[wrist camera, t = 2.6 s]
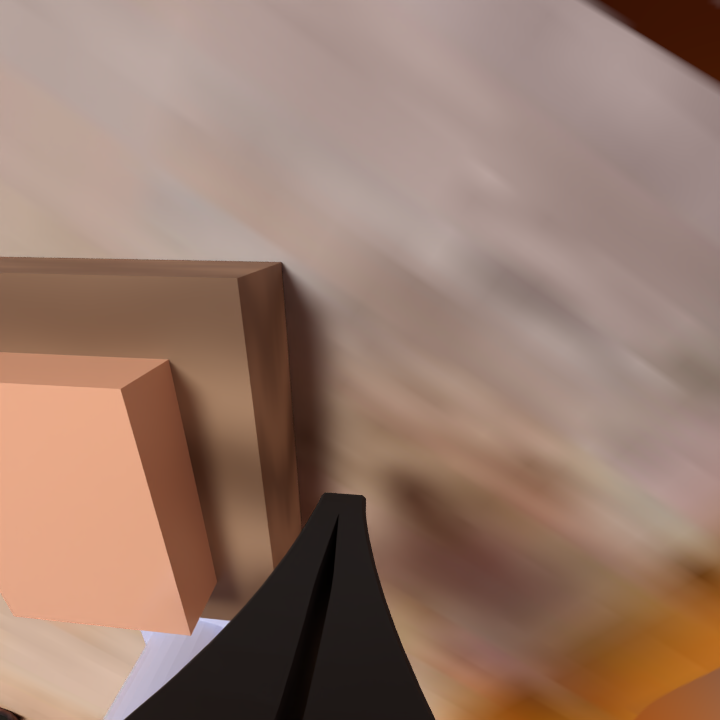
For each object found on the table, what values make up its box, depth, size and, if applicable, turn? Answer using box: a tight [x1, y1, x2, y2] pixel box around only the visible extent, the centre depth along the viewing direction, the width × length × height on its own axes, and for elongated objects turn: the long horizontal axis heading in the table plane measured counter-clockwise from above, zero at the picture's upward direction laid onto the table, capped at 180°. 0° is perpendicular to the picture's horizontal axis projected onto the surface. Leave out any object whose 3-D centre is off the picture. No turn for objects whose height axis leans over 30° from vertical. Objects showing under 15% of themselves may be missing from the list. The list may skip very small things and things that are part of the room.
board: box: [0, 257, 302, 621], centre depth 14 cm, size 15×13×4 cm
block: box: [0, 352, 217, 636], centre depth 12 cm, size 10×7×2 cm
